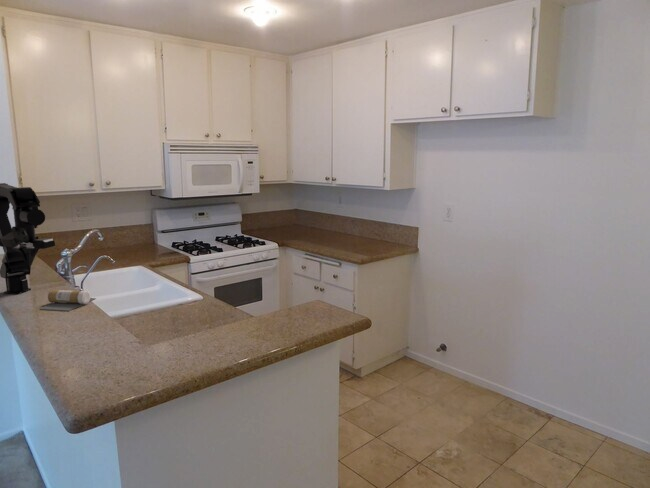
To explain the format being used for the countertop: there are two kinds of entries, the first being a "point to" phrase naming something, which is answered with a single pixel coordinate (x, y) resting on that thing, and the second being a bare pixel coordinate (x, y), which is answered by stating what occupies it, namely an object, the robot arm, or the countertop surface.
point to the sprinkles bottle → (69, 296)
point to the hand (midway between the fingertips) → (29, 266)
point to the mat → (63, 306)
